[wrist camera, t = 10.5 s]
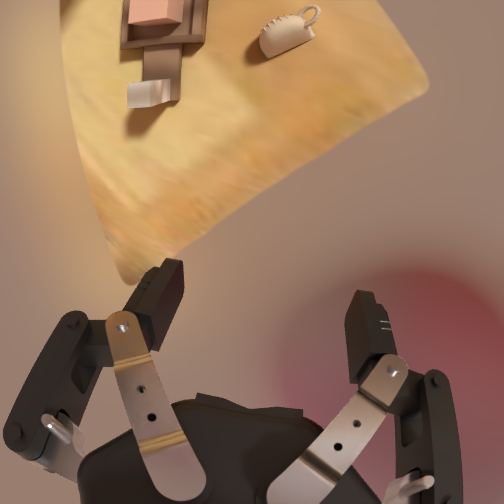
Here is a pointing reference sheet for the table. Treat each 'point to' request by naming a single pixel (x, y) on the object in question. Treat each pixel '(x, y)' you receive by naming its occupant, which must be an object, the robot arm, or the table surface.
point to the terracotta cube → (155, 12)
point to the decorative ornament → (287, 32)
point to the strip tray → (162, 53)
